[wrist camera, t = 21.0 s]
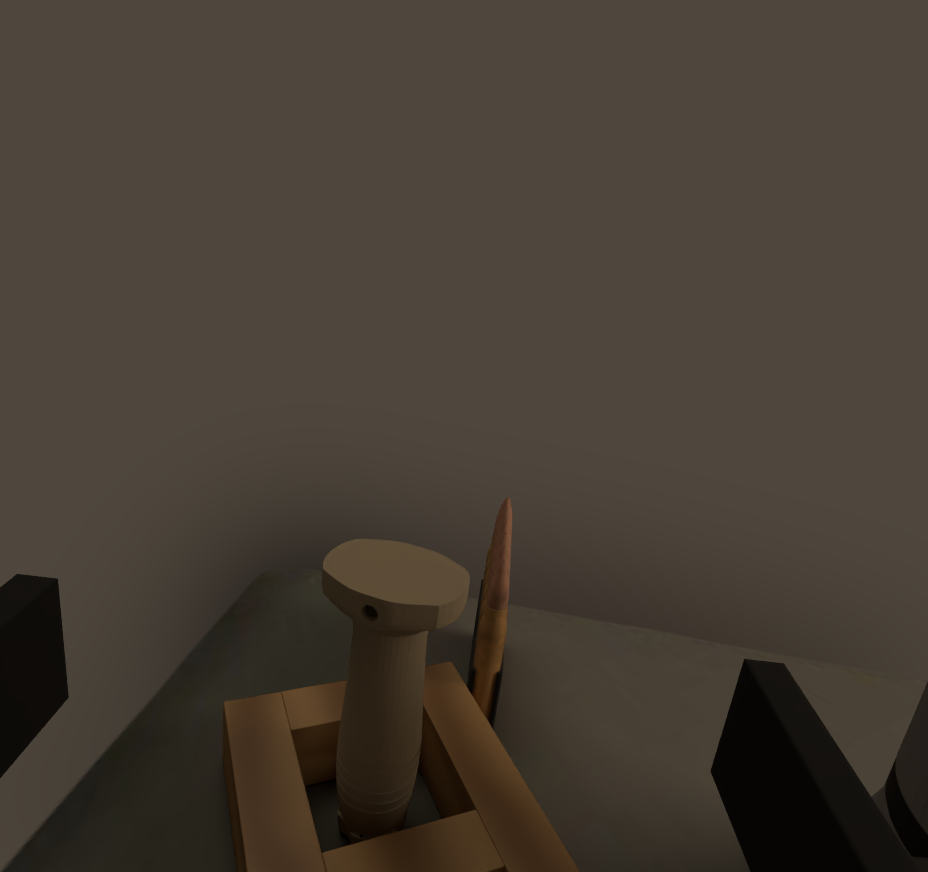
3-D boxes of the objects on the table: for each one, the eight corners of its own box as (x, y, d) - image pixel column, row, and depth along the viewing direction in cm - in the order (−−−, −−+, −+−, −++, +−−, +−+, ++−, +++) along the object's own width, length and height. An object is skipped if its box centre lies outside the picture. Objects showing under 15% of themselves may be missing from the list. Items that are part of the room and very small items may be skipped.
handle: (339, 772, 37) (358, 529, 32) (446, 817, 35) (483, 565, 31) (288, 843, 33) (301, 574, 28) (408, 898, 31) (444, 619, 26)
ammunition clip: (490, 747, 40) (520, 571, 37) (459, 742, 40) (486, 566, 37) (497, 640, 51) (521, 494, 47) (473, 636, 51) (495, 490, 47)
